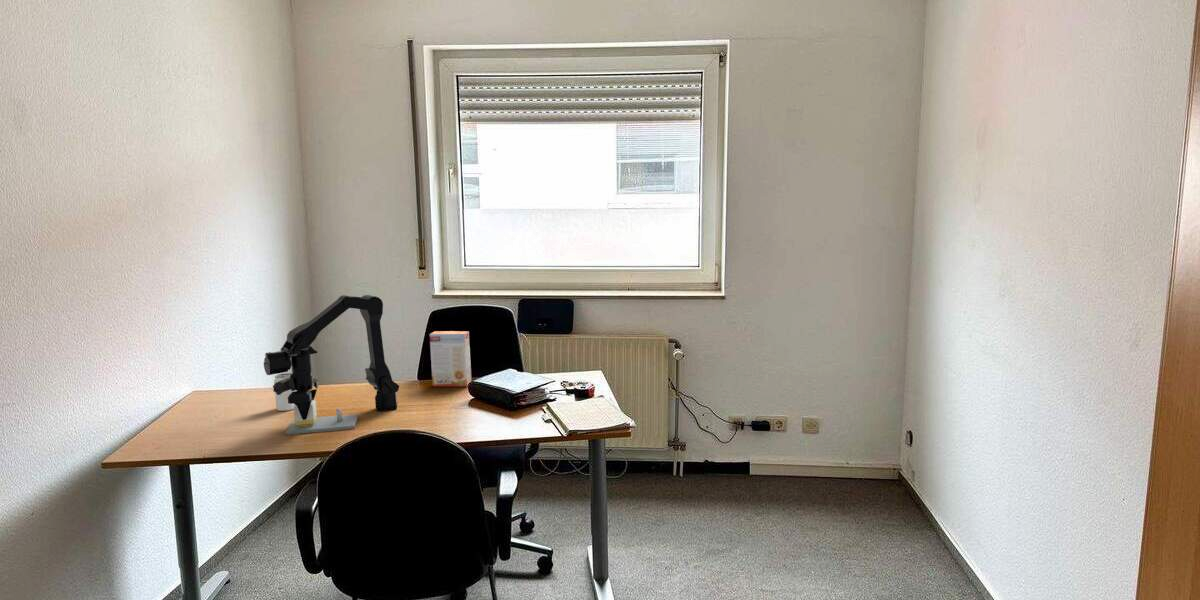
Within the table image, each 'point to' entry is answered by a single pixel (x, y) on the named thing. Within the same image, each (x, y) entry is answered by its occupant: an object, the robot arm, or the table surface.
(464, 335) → the cracker box
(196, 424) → the table surface
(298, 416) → the sleeve
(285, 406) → the can
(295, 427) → the board
